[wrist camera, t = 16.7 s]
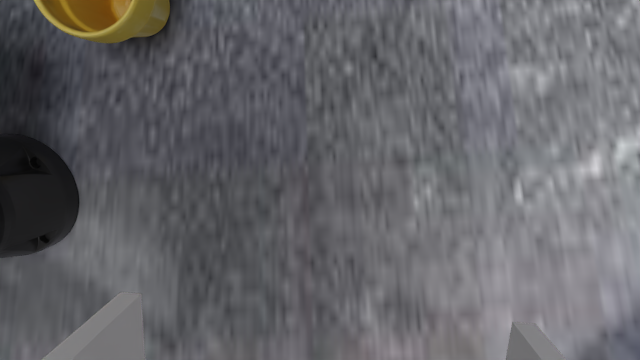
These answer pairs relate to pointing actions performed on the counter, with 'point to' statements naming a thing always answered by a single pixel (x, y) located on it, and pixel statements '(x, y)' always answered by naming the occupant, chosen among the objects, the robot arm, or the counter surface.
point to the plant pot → (106, 18)
